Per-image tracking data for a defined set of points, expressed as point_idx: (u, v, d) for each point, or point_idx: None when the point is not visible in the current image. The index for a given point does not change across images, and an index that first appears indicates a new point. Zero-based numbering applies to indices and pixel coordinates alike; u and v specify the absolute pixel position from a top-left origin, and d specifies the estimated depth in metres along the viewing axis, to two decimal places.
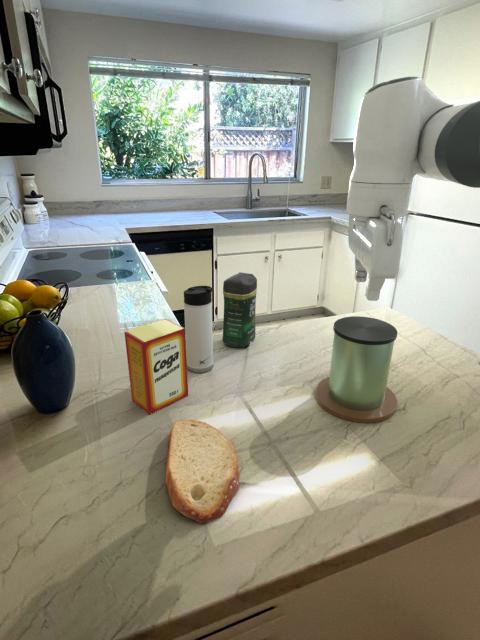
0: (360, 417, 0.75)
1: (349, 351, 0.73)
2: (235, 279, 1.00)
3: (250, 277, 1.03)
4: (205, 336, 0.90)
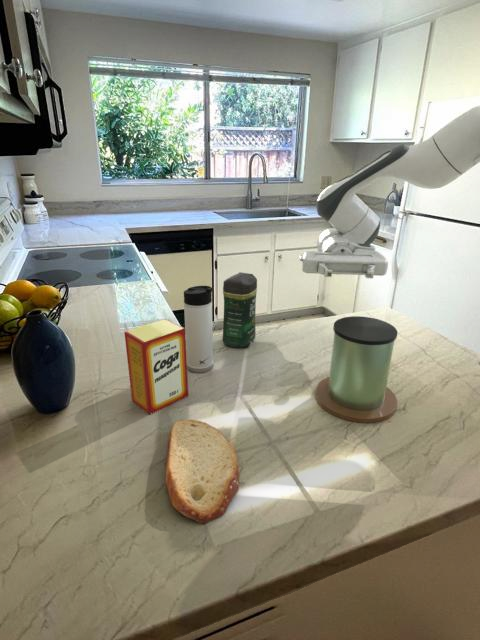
0: (360, 417, 0.75)
1: (349, 351, 0.73)
2: (235, 278, 1.00)
3: (250, 277, 1.03)
4: (205, 336, 0.90)
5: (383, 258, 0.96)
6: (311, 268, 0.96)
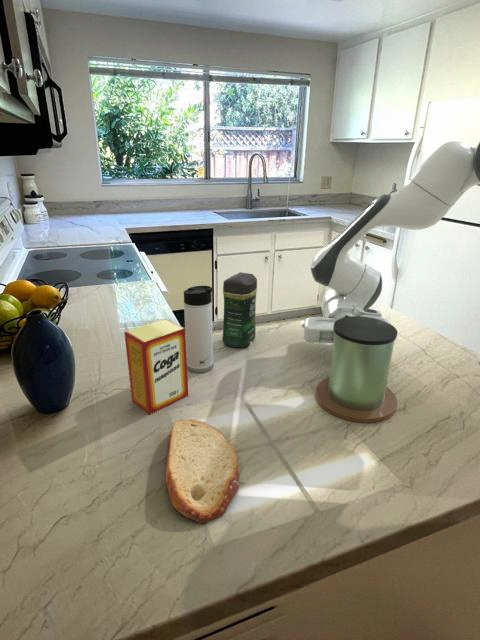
0: (360, 417, 0.75)
1: (349, 351, 0.73)
2: (235, 278, 1.00)
3: (250, 277, 1.03)
4: (205, 336, 0.90)
5: None
6: (313, 337, 0.91)
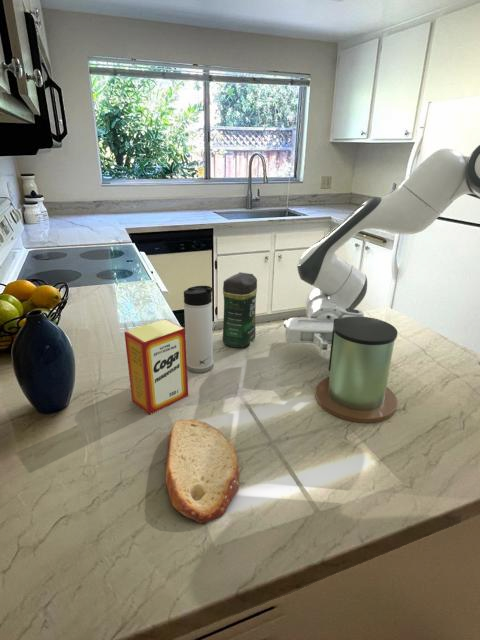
0: (378, 416, 0.75)
1: (363, 354, 0.72)
2: (235, 279, 1.00)
3: (250, 277, 1.03)
4: (205, 336, 0.90)
5: None
6: (294, 338, 0.91)
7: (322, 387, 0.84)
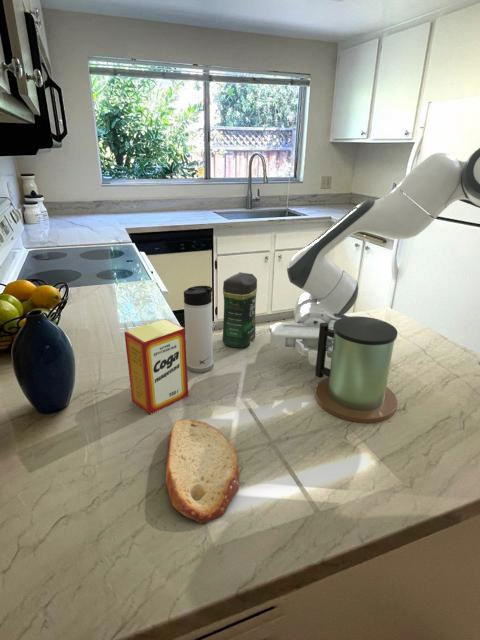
0: (391, 410, 0.77)
1: (378, 354, 0.72)
2: (235, 278, 1.00)
3: (250, 277, 1.03)
4: (205, 336, 0.90)
5: None
6: (279, 343, 0.88)
7: (323, 395, 0.81)
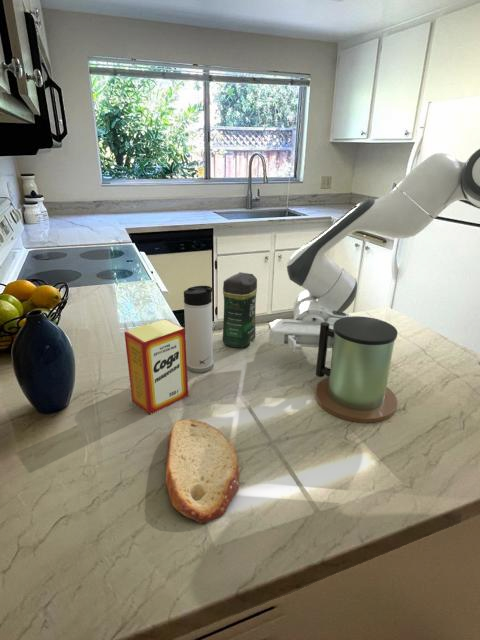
0: (391, 411, 0.76)
1: (377, 354, 0.72)
2: (235, 278, 1.00)
3: (250, 277, 1.03)
4: (205, 336, 0.90)
5: None
6: (278, 340, 0.89)
7: (322, 395, 0.81)
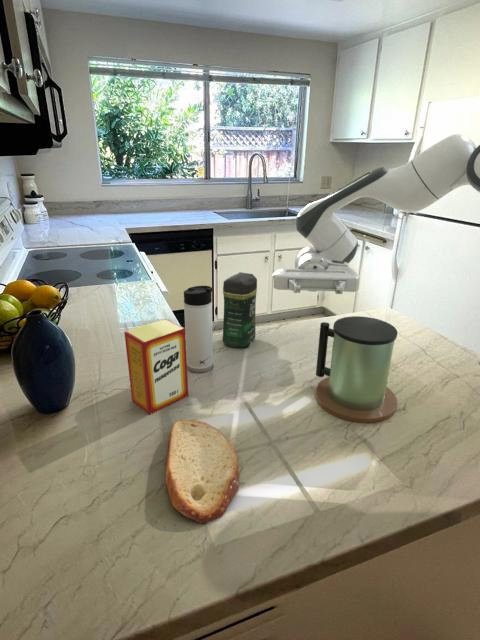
0: (391, 411, 0.76)
1: (377, 354, 0.72)
2: (235, 278, 1.00)
3: (250, 277, 1.03)
4: (205, 336, 0.90)
5: (355, 274, 0.95)
6: (282, 284, 0.96)
7: (322, 395, 0.81)
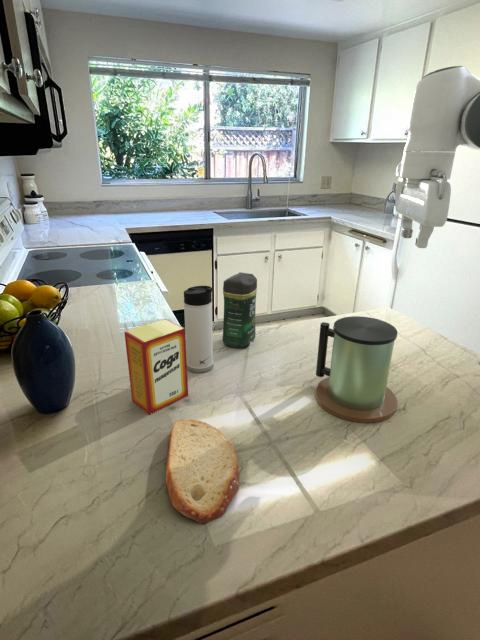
0: (391, 411, 0.76)
1: (377, 354, 0.72)
2: (235, 278, 1.00)
3: (250, 277, 1.03)
4: (205, 336, 0.90)
5: None
6: None
7: (322, 395, 0.81)
